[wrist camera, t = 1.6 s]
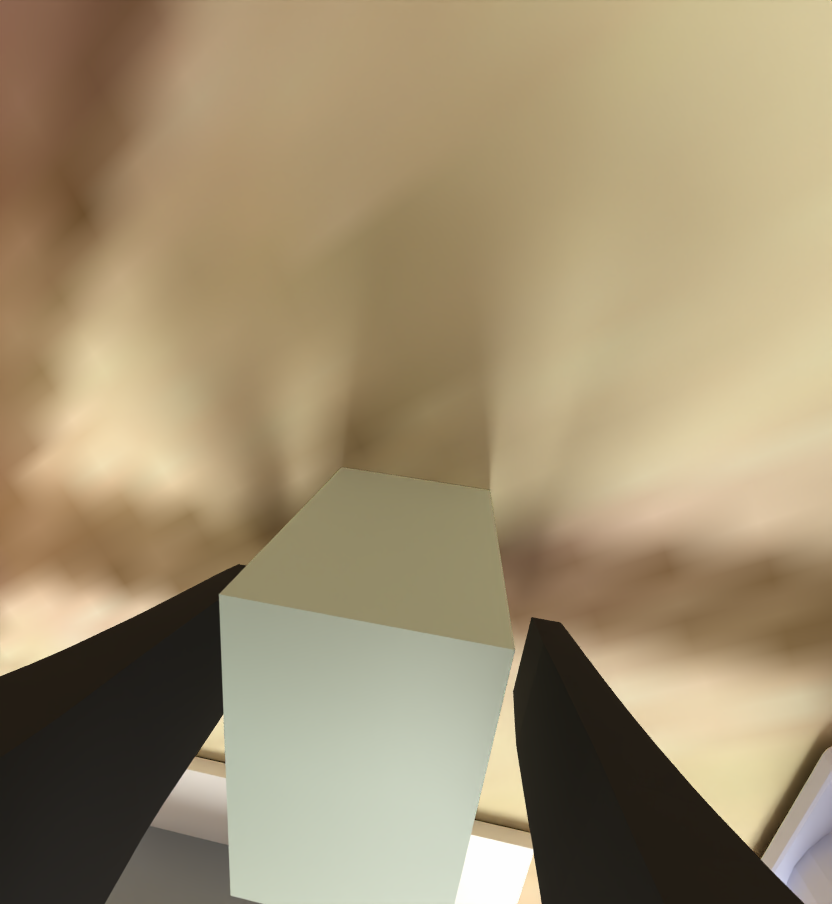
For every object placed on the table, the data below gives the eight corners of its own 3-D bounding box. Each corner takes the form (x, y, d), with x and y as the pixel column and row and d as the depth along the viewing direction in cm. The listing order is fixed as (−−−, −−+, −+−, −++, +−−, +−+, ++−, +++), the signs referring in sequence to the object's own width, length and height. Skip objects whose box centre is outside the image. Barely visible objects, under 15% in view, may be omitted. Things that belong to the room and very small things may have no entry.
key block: (489, 488, 9) (515, 650, 4) (453, 684, 11) (442, 949, 6) (342, 465, 10) (219, 594, 5) (329, 659, 11) (230, 895, 7)
